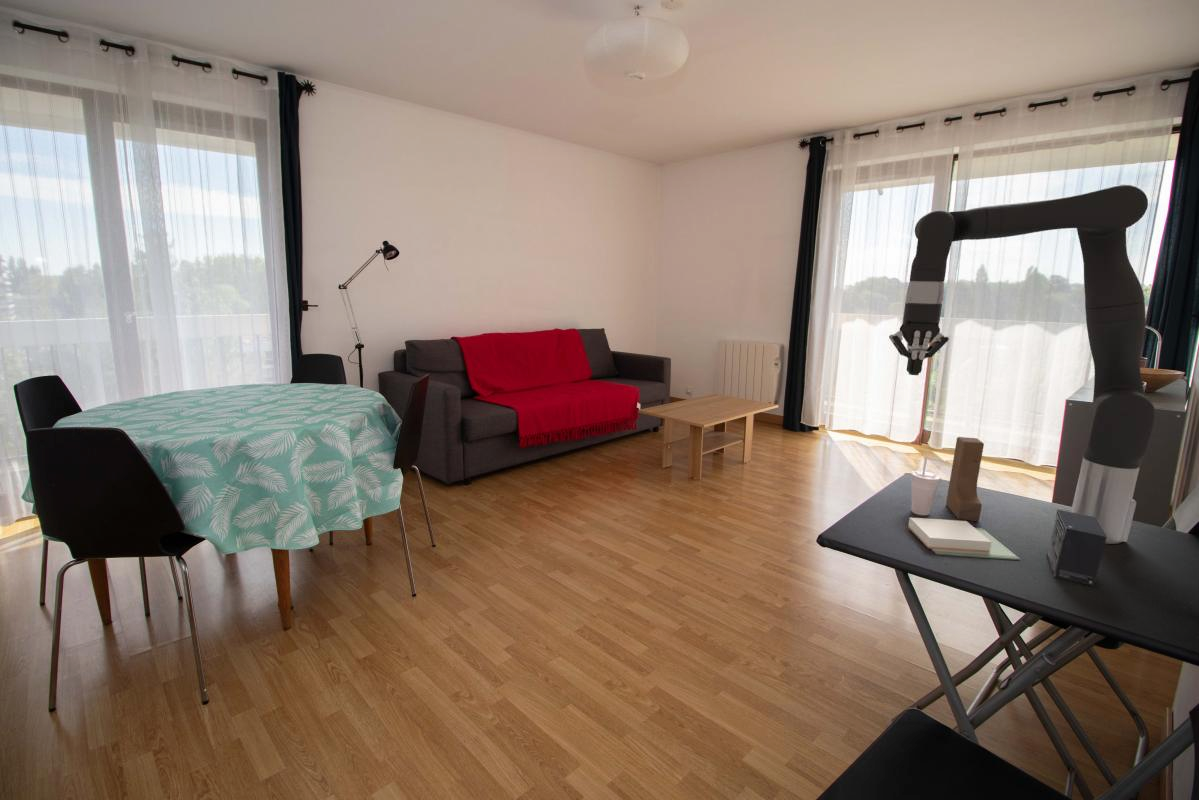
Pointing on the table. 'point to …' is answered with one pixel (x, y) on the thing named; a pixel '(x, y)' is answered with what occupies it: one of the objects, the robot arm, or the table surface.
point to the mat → (995, 552)
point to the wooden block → (965, 479)
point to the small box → (1076, 547)
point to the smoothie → (923, 490)
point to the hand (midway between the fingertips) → (913, 374)
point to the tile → (949, 535)
